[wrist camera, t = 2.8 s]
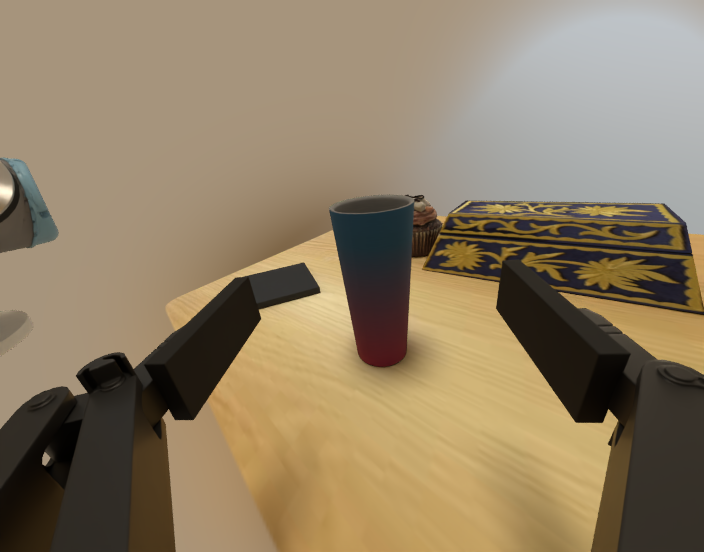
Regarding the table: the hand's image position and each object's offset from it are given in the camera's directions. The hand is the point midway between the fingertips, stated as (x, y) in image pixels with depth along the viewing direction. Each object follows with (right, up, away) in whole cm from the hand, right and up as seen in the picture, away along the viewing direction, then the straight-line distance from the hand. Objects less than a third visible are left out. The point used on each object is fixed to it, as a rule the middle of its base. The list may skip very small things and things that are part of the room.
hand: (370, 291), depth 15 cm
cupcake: (+11, +6, +39) cm, 41 cm away
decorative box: (+26, +1, +26) cm, 36 cm away
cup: (+2, -7, +14) cm, 16 cm away
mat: (-13, -1, +30) cm, 32 cm away
